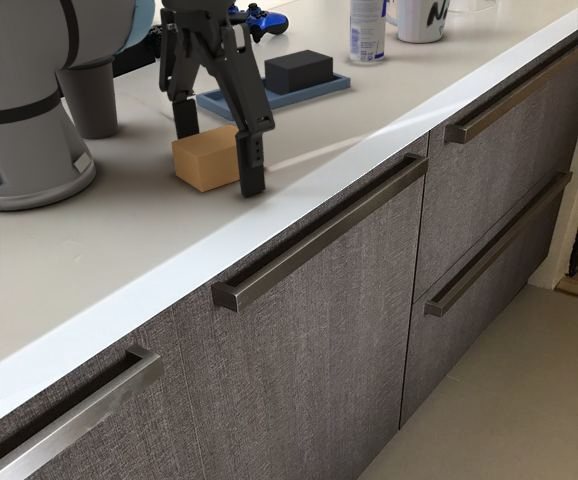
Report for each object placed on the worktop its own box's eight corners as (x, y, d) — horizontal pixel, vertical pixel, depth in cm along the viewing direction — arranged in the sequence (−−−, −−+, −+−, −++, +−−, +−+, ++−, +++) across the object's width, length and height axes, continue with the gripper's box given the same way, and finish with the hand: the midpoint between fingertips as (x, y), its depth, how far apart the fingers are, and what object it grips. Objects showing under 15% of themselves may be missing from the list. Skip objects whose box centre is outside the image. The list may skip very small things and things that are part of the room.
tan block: (202, 192, 74) (197, 157, 71) (176, 175, 77) (170, 141, 75) (261, 172, 77) (258, 138, 74) (233, 157, 81) (230, 124, 78)
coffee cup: (138, 122, 92) (123, 43, 85) (110, 144, 86) (92, 61, 79) (87, 119, 93) (68, 41, 87) (56, 140, 88) (33, 59, 81)
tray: (232, 125, 89) (231, 111, 88) (196, 107, 95) (195, 94, 94) (350, 90, 98) (350, 77, 97) (310, 76, 104) (310, 64, 103)
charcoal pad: (289, 99, 94) (288, 69, 92) (265, 89, 98) (263, 60, 95) (333, 86, 98) (333, 57, 95) (308, 77, 101) (308, 49, 99)
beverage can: (390, 62, 107) (395, -47, 98) (358, 67, 106) (361, -43, 96) (374, 54, 111) (378, -52, 102) (343, 59, 110) (344, -48, 100)
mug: (437, 48, 112) (443, -20, 106) (357, 40, 119) (358, -25, 112) (458, 32, 119) (465, -32, 113) (381, 26, 125) (384, -36, 119)
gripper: (305, -34, 57) (312, 198, 71) (167, -58, 73) (195, 136, 86) (231, -20, 54) (253, 220, 68) (104, -48, 70) (143, 151, 83)
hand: (220, 174), depth 77 cm, fingers open, 13 cm apart
